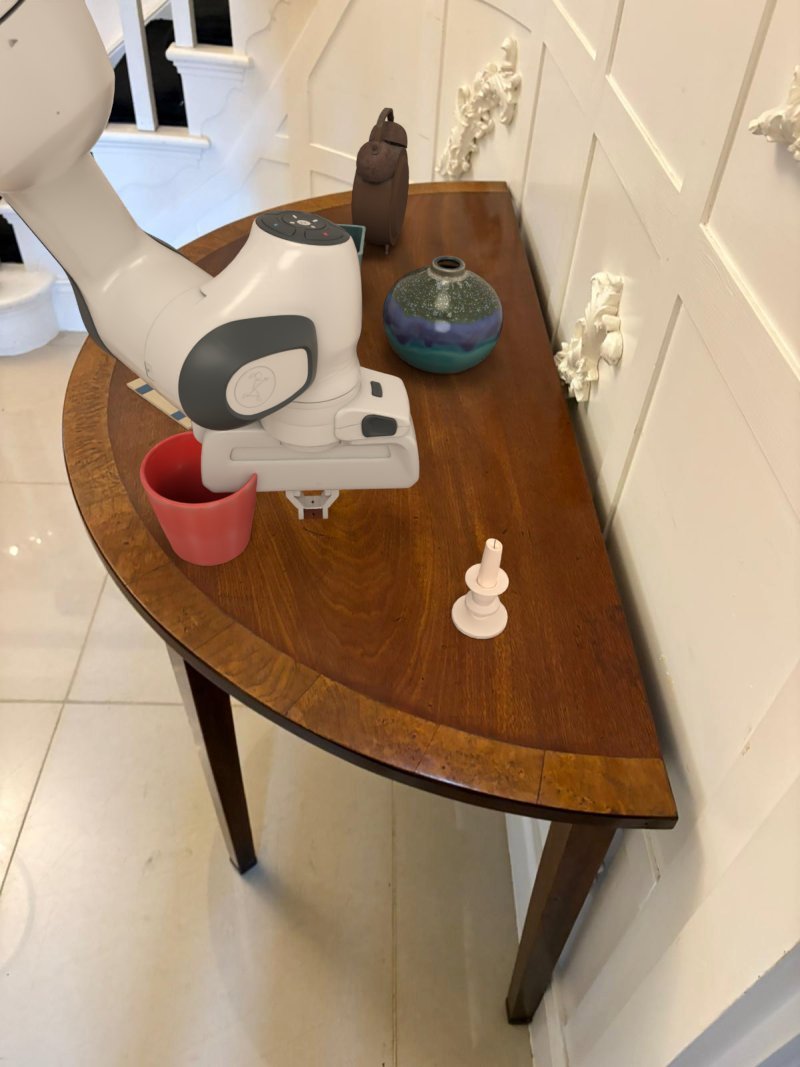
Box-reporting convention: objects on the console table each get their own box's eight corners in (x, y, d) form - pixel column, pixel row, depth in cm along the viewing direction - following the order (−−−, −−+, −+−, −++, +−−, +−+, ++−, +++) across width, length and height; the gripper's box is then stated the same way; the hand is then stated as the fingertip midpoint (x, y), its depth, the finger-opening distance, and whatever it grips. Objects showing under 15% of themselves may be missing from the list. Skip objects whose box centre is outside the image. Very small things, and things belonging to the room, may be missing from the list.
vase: (518, 374, 103) (537, 279, 93) (417, 403, 97) (426, 305, 87) (456, 318, 112) (467, 226, 102) (360, 341, 106) (362, 246, 96)
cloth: (188, 430, 90) (187, 427, 90) (126, 386, 96) (126, 383, 95) (314, 364, 101) (314, 361, 101) (253, 328, 107) (253, 325, 106)
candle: (500, 594, 76) (518, 516, 68) (512, 637, 72) (532, 560, 65) (447, 597, 75) (459, 519, 68) (456, 641, 71) (470, 563, 64)
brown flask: (365, 224, 132) (369, 92, 118) (407, 230, 131) (416, 98, 117) (344, 262, 122) (345, 123, 108) (389, 269, 121) (397, 130, 107)
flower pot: (288, 532, 80) (284, 458, 73) (210, 596, 73) (197, 522, 66) (213, 487, 84) (203, 413, 77) (132, 545, 77) (113, 469, 70)
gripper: (184, 424, 65) (204, 540, 75) (427, 421, 67) (416, 534, 77) (191, 381, 70) (209, 496, 79) (419, 379, 72) (410, 491, 82)
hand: (313, 514), depth 78 cm, fingers closed
